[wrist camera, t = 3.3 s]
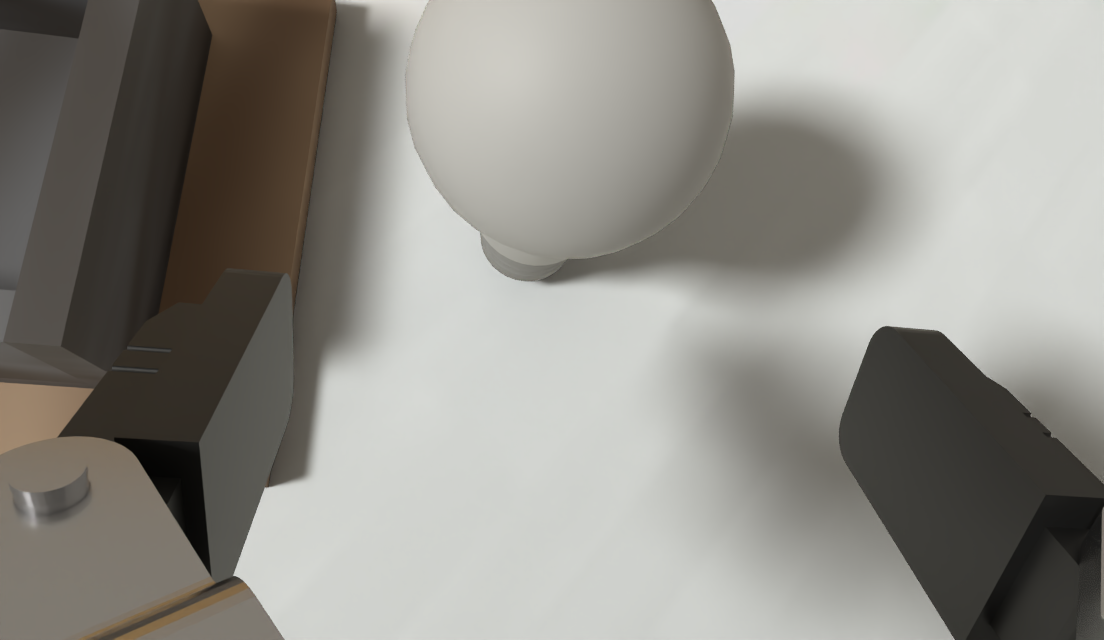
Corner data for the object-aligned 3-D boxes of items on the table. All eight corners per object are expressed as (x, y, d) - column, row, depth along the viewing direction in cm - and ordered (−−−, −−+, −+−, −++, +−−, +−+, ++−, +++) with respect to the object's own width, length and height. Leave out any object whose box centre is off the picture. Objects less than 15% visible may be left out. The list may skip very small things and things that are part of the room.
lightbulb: (647, 336, 22) (837, 150, 12) (430, 368, 21) (430, 192, 11) (605, 142, 24) (740, -174, 14) (400, 162, 23) (374, -167, 12)
